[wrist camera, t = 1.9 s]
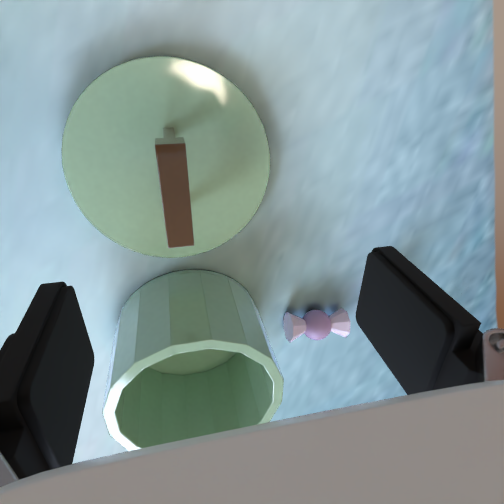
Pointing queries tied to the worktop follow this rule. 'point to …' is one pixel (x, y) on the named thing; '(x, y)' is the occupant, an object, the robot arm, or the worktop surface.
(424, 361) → the robot arm
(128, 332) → the canister
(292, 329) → the candies
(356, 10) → the worktop surface
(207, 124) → the lid
